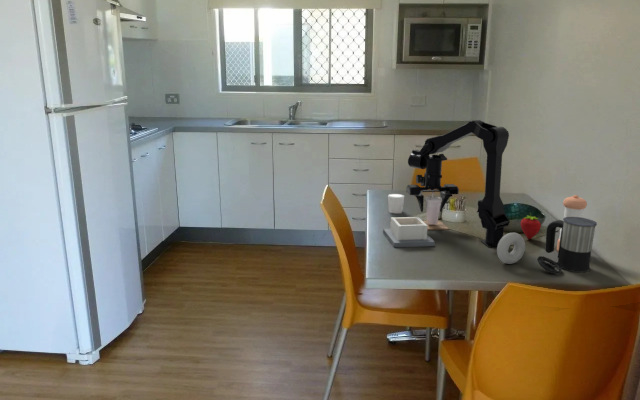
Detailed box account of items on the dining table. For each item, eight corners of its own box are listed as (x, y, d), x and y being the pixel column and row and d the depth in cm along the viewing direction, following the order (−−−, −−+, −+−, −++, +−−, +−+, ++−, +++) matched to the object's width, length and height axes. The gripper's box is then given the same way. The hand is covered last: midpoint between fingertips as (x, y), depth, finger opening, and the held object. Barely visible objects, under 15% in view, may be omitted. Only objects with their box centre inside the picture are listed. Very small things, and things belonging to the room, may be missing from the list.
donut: (518, 259, 167) (521, 229, 165) (526, 263, 164) (529, 232, 162) (492, 263, 163) (495, 232, 161) (500, 267, 160) (503, 236, 158)
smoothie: (434, 219, 205) (436, 184, 202) (444, 224, 199) (446, 187, 196) (420, 221, 203) (421, 186, 199) (430, 226, 197) (432, 189, 193)
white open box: (434, 245, 179) (435, 227, 177) (394, 247, 177) (395, 228, 176) (420, 231, 194) (421, 214, 193) (382, 232, 193) (383, 215, 191)
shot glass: (385, 213, 219) (386, 196, 217) (388, 208, 225) (389, 192, 224) (402, 214, 217) (403, 197, 215) (404, 210, 223) (405, 194, 222)
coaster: (448, 229, 197) (448, 228, 197) (420, 230, 196) (420, 229, 196) (439, 221, 208) (439, 220, 208) (411, 221, 207) (411, 220, 206)
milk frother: (591, 265, 163) (598, 219, 159) (586, 282, 150) (593, 232, 146) (542, 256, 170) (548, 212, 167) (533, 272, 157) (539, 224, 154)
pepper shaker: (566, 255, 171) (574, 198, 166) (551, 248, 178) (558, 193, 173) (585, 253, 173) (593, 197, 168) (569, 246, 180) (577, 192, 175)
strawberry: (530, 243, 183) (533, 215, 180) (514, 237, 189) (517, 210, 187) (543, 241, 185) (546, 214, 182) (527, 235, 192) (530, 208, 189)
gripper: (449, 166, 205) (447, 205, 209) (403, 167, 203) (401, 206, 207) (460, 172, 195) (457, 213, 199) (411, 173, 193) (409, 214, 196)
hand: (431, 211), depth 200 cm, fingers closed on smoothie, 7 cm apart
